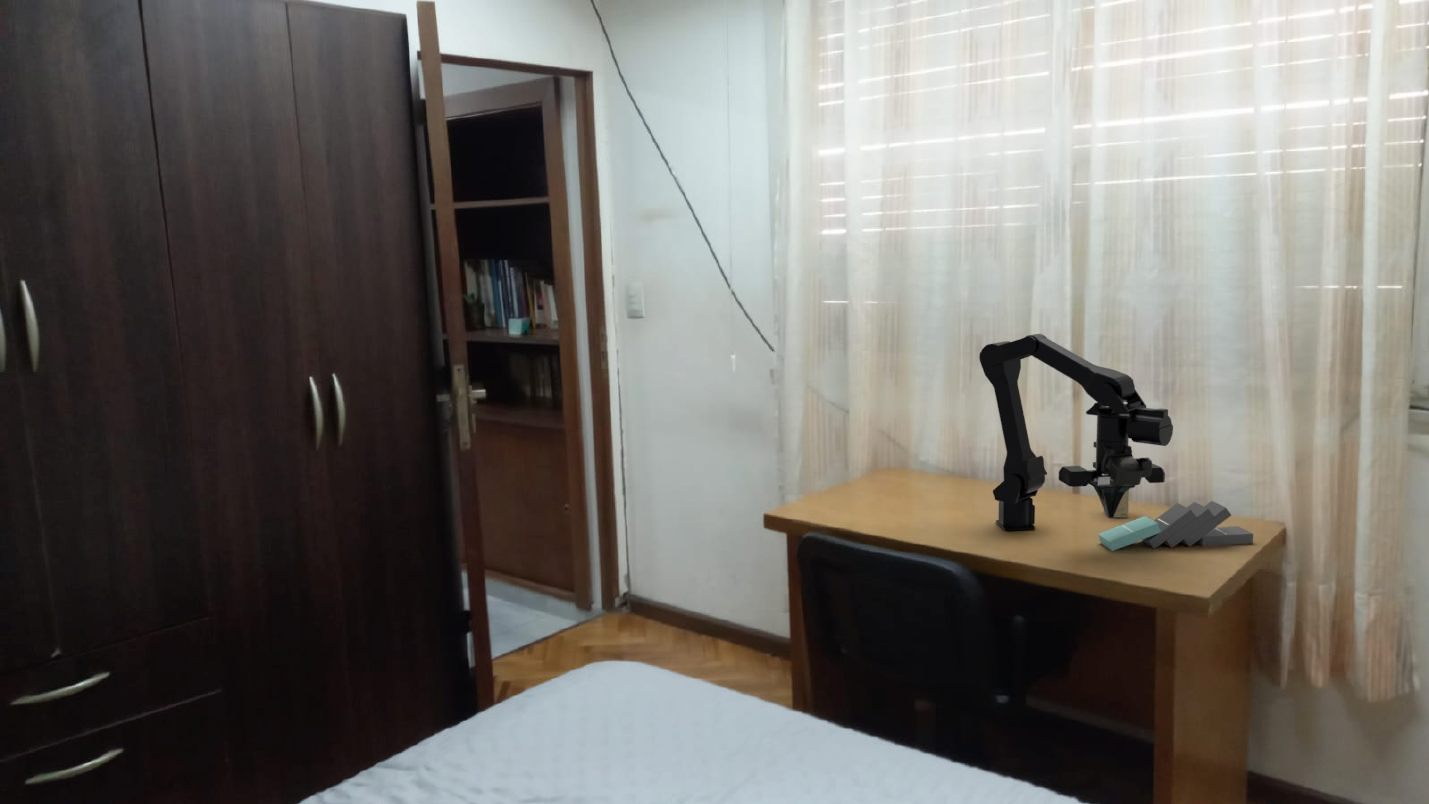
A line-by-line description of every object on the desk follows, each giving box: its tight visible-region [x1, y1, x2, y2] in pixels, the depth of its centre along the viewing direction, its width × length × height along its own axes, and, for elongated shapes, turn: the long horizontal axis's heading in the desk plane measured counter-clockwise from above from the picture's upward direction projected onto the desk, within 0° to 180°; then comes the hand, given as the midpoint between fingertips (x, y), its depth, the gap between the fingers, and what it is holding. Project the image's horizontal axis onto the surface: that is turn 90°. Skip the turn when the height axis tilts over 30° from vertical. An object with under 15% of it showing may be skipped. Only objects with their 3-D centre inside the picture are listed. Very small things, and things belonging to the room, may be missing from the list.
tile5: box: [1194, 525, 1254, 547], centre depth 188 cm, size 2×5×10 cm
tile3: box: [1162, 501, 1214, 549], centre depth 188 cm, size 2×5×10 cm
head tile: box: [1097, 515, 1161, 552], centre depth 187 cm, size 2×5×10 cm
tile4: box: [1180, 500, 1232, 547], centre depth 188 cm, size 2×5×10 cm
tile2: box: [1141, 502, 1196, 550], centre depth 187 cm, size 2×5×10 cm
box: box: [1103, 474, 1130, 518], centre depth 208 cm, size 5×4×11 cm
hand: (1109, 517), depth 187 cm, fingers closed
